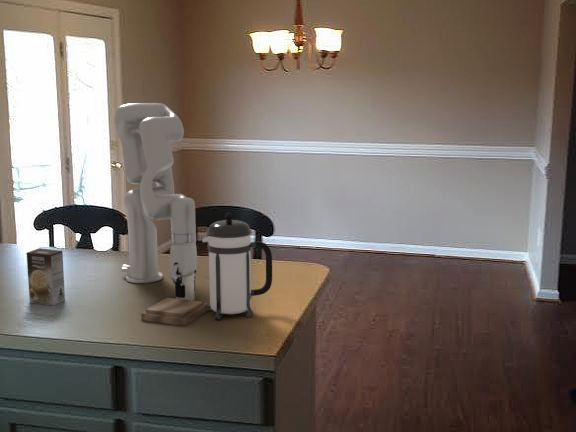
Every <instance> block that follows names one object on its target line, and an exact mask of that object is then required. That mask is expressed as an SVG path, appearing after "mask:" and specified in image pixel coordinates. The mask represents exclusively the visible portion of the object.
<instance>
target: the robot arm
mask: <svg viewBox="0 0 576 432" xmlns="http://www.w3.org/2000/svg"><path fill="white" fill-rule="evenodd" d="M114 126H115V130H116V133H117V136H118V138H119V141H120V144H121V148H122V149H121V150H122V159H123V160H122V161H123V165H124V167H123V168H124V173H125V178H126V181H127V182H128V183H129V184H132V185H140V186H139V187H137V188H132V189H129V191H127V192H126V193H125V195H124V198H123V205H124V210H125V214H126V220H127V230H128V231H127V233H128V235H127V236H128V249H129V250H128V255H129V256H128V257H129V258H128V259H129V265H128V264H123V265H122V266H121V269H120V270H121V272H124V273H126V275H125V280H126V281H127V282H129V283H132V284H133V283H134V284H149V283H155V282H159V281H160V280H162V279H164V274H163V273H162V272H160V271H159V260H158V235H157V227H156V224H155V223H154V222H153V221H161V220H170V235H171V236H170V239H171V245H170V249H169V250H170V251H169V275H170V279H171V280H172V282H173V284H174V294H175V296H174V297H175V298H176V297H180V298H185V285H184V278H185V275H187V274H189V273H191V272H192V273H193V274H194V293H195V292H196V277H197V276H196V273H197V269H198V268H199V264H198V252H197V251H198V250H197V244H196V242H197V233H196V231H197V230H196V229H197V227H196V204H195V203H196V202H195V200H194V199H193V198H191V197H187V196H186V195H184V194H182V193H175V184H174V175H173V168H172V167H173V165H174V162H175V161H174V156H173V152H172V148H171V144H170V143H178V142H181V141H182V140H183V138H184V135H185V129H184V125H183V123H182V121H181V119H180V117H179V116H178V115H177V114H176V113H175V112H174V111H173V110H172V109H171V108H170V107H169V106H167V105H166V104H164V103H161V102H159V103H158V102H146V103H145V102H143V103H142V102H140V103H139V102H136V103H135V102H134V103H132V102H131V103H125V104H122V105H119V106H118V107H117V108H116V110H115V113H114ZM153 184H155V185H156V186H153ZM178 273H181V275H178ZM178 277H181V280H180V279H179V278H178Z"/></svg>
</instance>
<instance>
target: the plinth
mask: <svg viewBox="0 0 576 432" xmlns="http://www.w3.org/2000/svg"><path fill="white" fill-rule="evenodd" d="M207 312H209V305H208V304H207V303H204V301H200V300H199V301H198V300H193V301H192V300H183V299H176V297H175V298H174V297H166V298H164V299H162V300H161V301H158V302H157V303H155V304H153V305H151V306H150V307H148V308H146V309H145V310H144V311H143V312H141V313H140V316H141V317H140V318H141V320H140V321H145V322H151V323H152V322H153V323H160V324H166V325H167V324H169V325H176V326H184V327H185V326H186V325H187V326H188V325H189V324H190V323H192V322H193V321H195V320H197V318H199V317H201V316H202V315H204V314H206V313H207Z"/></svg>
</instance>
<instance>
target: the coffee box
mask: <svg viewBox="0 0 576 432" xmlns="http://www.w3.org/2000/svg"><path fill="white" fill-rule="evenodd" d="M63 256H64V255H63V250H57V249H51V248H50V249H48V248H40V247H39V248H36V249H34V250H30V251H28V252H26V265H27V268H26V269H27V280H28V282H27V283H28V295H29V296H28V297H29V304H30V303H31V304H37V305H45V306H51V305H52V306H53V305H54V306H56V305H58V304H60V303H62V302H64V301H66V294H65V293H66V292H65V291H66V290H65V274H64V273H65V272H64V257H63Z"/></svg>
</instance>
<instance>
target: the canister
mask: <svg viewBox="0 0 576 432" xmlns="http://www.w3.org/2000/svg"><path fill="white" fill-rule="evenodd" d="M178 275H181V273H178ZM178 278H179V279H180V280H181V277H178ZM194 280H195V279H194V274H193V273H192V272H191V273H189V274H187V275H185V278H184V285H185V298H180V297H176V296H175V299H183V300H192V301H195V298H196V297H195V292H194Z"/></svg>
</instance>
